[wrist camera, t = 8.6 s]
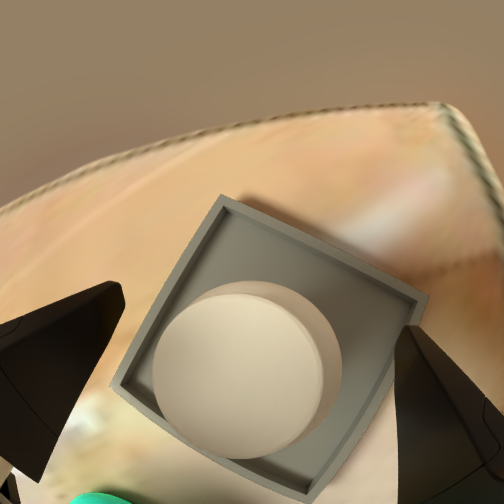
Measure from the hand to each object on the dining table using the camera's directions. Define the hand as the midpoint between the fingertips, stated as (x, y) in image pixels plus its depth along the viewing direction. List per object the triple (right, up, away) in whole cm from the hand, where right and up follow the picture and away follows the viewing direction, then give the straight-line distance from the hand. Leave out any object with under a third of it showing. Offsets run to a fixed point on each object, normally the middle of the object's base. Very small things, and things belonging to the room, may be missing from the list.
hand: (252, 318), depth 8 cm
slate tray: (+1, -4, +8) cm, 9 cm away
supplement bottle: (+1, -4, +7) cm, 8 cm away
